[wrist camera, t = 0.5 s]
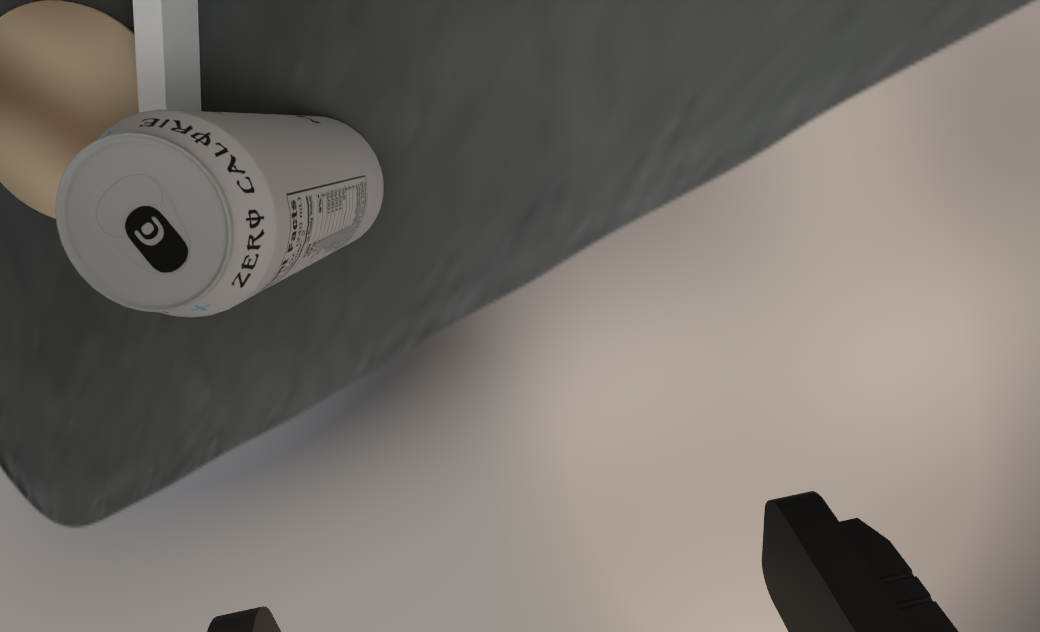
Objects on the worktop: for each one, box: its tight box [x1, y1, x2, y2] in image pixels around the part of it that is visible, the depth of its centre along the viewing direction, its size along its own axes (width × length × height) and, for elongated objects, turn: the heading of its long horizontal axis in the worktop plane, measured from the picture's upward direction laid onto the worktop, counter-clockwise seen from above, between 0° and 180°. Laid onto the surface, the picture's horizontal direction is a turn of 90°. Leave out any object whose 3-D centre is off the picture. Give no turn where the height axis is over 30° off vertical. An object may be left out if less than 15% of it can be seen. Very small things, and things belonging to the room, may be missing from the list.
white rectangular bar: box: [133, 0, 201, 113], centre depth 30 cm, size 21×1×3 cm, turn 175°
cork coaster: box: [0, 0, 139, 219], centre depth 33 cm, size 10×10×1 cm
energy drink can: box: [55, 110, 384, 317], centre depth 26 cm, size 6×6×15 cm
